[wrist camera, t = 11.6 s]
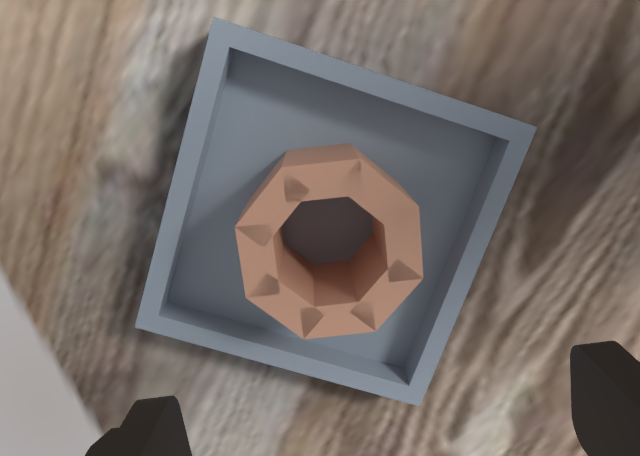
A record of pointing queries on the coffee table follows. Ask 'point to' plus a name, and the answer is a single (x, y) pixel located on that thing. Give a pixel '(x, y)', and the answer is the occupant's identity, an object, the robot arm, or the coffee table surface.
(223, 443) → the coffee table surface
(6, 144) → the coffee table surface
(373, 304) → the ring
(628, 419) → the robot arm
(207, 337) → the tray
